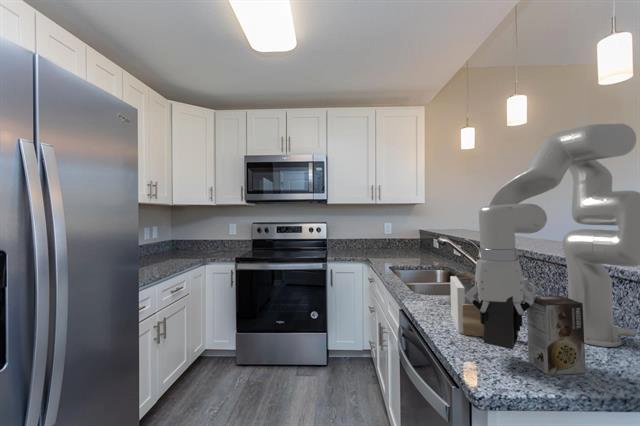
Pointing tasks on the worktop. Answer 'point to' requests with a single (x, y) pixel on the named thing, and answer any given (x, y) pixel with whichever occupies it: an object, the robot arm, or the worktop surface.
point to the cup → (529, 285)
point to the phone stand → (500, 324)
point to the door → (472, 320)
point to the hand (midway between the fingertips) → (500, 327)
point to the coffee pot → (467, 285)
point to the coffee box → (556, 335)
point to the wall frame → (457, 302)
